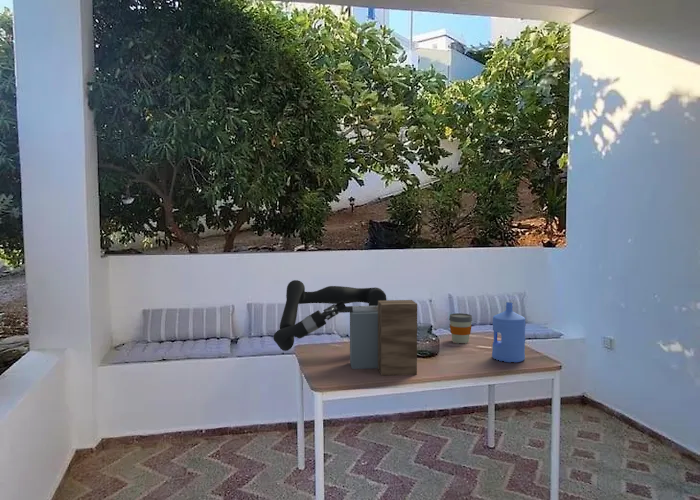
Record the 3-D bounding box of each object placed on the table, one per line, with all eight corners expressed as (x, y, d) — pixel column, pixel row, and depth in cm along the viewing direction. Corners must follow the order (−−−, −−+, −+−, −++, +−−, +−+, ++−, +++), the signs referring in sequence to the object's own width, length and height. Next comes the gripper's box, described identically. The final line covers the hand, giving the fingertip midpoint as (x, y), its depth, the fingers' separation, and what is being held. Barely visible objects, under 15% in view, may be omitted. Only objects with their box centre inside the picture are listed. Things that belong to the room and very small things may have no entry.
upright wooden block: (377, 368, 245) (377, 300, 242) (411, 367, 246) (411, 299, 244) (381, 375, 234) (381, 304, 231) (416, 374, 235) (417, 304, 233)
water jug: (526, 356, 264) (527, 301, 263) (522, 364, 250) (523, 306, 248) (494, 353, 271) (495, 299, 269) (489, 360, 257) (490, 304, 255)
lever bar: (333, 311, 248) (333, 306, 248) (383, 310, 250) (383, 305, 250) (333, 312, 245) (333, 307, 245) (384, 311, 247) (384, 306, 247)
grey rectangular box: (349, 362, 254) (349, 309, 252) (390, 361, 256) (390, 308, 254) (352, 369, 244) (351, 313, 242) (394, 367, 246) (394, 312, 244)
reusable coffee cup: (451, 344, 289) (452, 317, 288) (446, 339, 301) (447, 313, 300) (474, 344, 289) (474, 317, 288) (468, 338, 302) (468, 313, 300)
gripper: (317, 325, 253) (347, 307, 254) (318, 332, 239) (349, 313, 240) (309, 312, 252) (339, 294, 253) (310, 318, 238) (341, 299, 239)
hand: (344, 303), depth 246 cm, fingers open, 7 cm apart
